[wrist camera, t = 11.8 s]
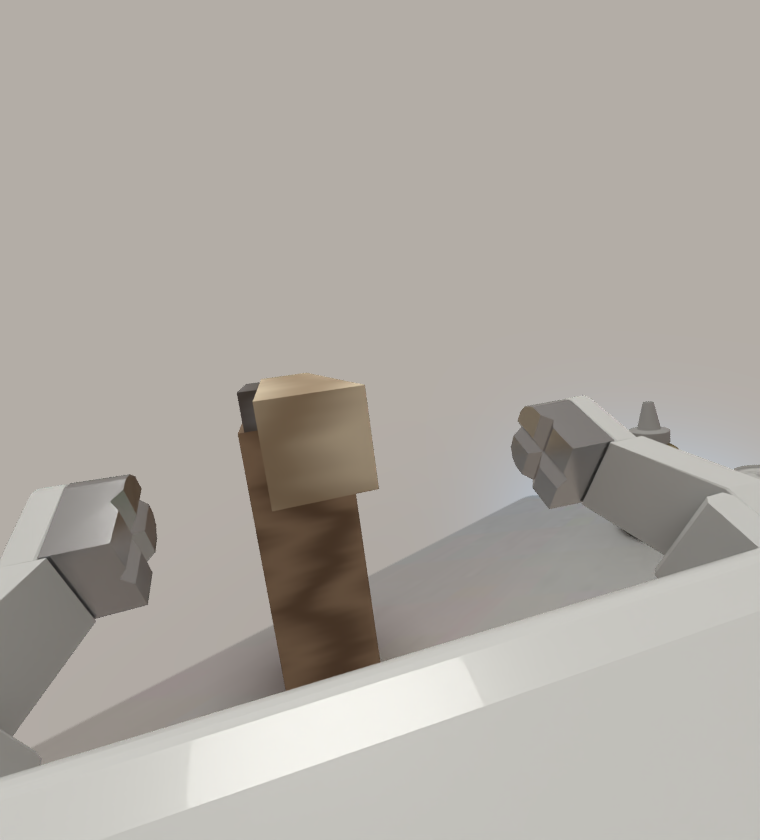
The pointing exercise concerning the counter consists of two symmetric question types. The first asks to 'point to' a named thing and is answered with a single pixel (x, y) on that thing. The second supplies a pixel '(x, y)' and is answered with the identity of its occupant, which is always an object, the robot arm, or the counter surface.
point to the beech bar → (314, 439)
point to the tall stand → (310, 573)
